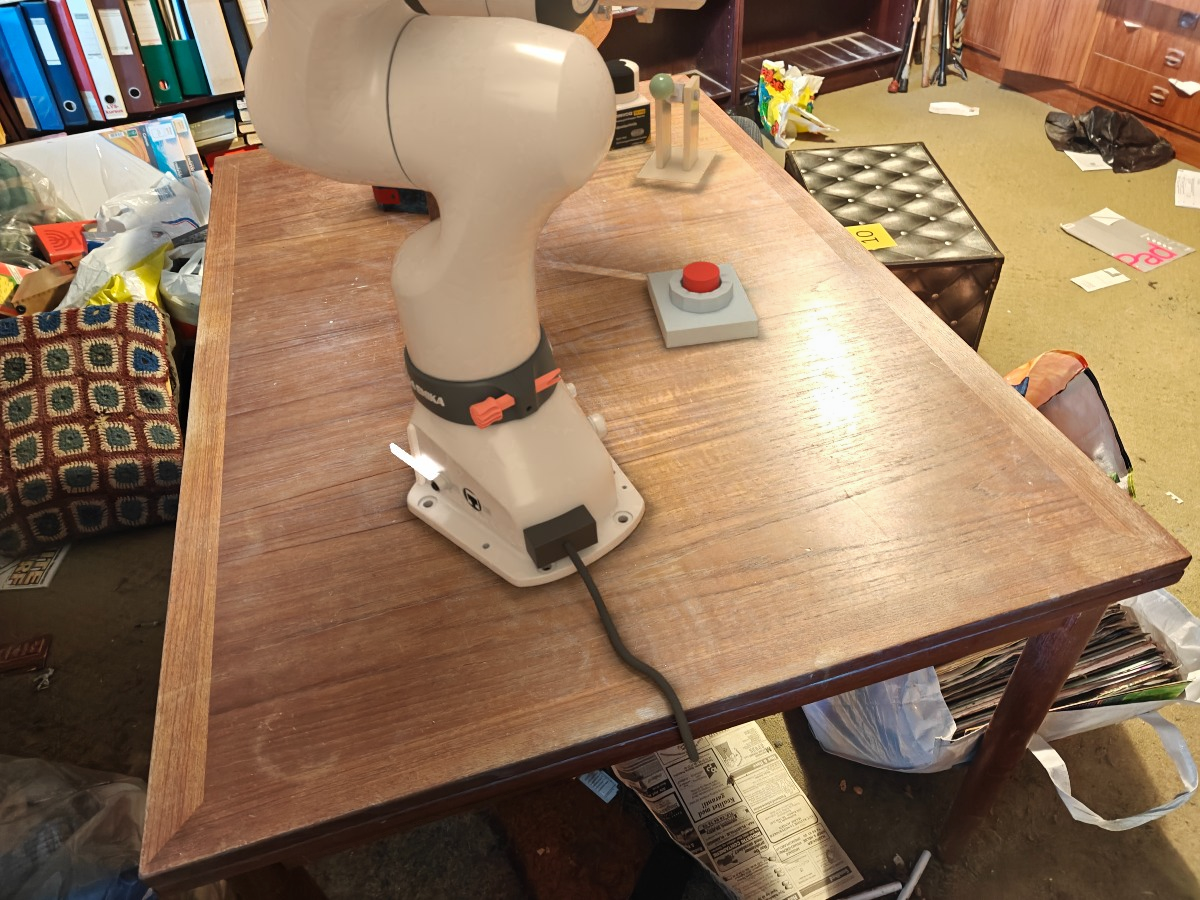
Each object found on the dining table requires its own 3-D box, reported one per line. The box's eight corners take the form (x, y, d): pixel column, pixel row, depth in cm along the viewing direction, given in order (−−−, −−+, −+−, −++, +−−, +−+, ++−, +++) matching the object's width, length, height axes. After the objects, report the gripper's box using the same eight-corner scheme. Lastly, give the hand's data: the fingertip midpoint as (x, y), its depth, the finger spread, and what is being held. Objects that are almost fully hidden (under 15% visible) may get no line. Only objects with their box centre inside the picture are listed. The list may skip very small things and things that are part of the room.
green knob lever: (669, 100, 107) (672, 72, 106) (644, 98, 108) (647, 70, 107) (689, 108, 117) (692, 83, 116) (667, 106, 118) (670, 81, 117)
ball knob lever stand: (697, 191, 119) (699, 98, 110) (635, 184, 121) (632, 93, 112) (717, 157, 126) (720, 68, 117) (658, 152, 129) (657, 64, 120)
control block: (757, 336, 93) (759, 305, 90) (666, 348, 92) (666, 317, 89) (730, 279, 102) (732, 249, 99) (647, 289, 101) (646, 259, 98)
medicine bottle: (608, 158, 128) (603, 75, 120) (591, 140, 133) (586, 60, 125) (651, 148, 130) (650, 66, 122) (633, 131, 135) (630, 51, 127)
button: (722, 292, 93) (723, 278, 92) (686, 296, 93) (686, 282, 92) (714, 273, 96) (715, 259, 95) (679, 277, 96) (679, 263, 95)
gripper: (479, -36, 82) (531, 39, 95) (686, -30, 76) (711, 49, 89) (493, -101, 82) (543, -17, 95) (700, -100, 76) (723, -11, 89)
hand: (625, 15), depth 92 cm, fingers open, 3 cm apart
